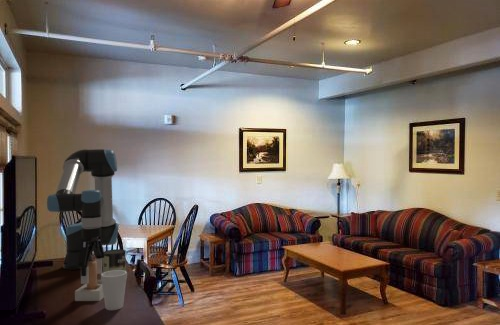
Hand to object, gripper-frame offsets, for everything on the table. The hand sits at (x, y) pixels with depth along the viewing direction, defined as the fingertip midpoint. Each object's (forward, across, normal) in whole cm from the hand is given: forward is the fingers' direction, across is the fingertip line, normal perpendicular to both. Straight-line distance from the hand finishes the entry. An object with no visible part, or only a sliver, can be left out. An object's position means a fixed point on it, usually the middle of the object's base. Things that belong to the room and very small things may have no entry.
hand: (92, 278), depth 158 cm
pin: (+7, 0, 0) cm, 7 cm away
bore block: (+8, -3, 0) cm, 8 cm away
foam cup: (+8, +12, +14) cm, 20 cm away
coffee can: (+8, -21, +2) cm, 23 cm away
